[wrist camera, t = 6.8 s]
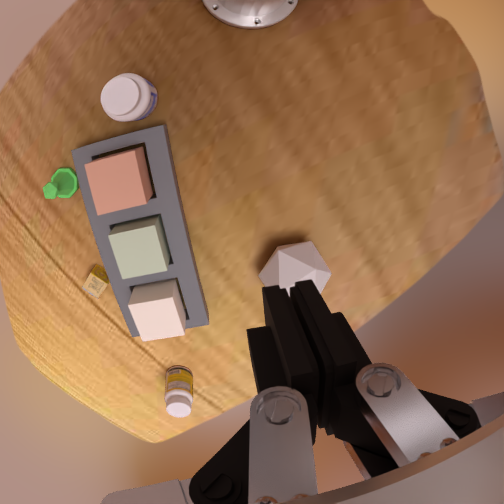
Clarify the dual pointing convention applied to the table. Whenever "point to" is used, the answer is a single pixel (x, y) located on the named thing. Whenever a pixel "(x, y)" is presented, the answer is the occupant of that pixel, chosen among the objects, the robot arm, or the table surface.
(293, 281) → the die
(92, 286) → the alphabet block
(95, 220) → the board
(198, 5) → the table surface
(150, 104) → the pill bottle
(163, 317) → the cream block
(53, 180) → the game piece
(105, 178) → the terracotta block
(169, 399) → the supplement bottle
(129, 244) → the green block
